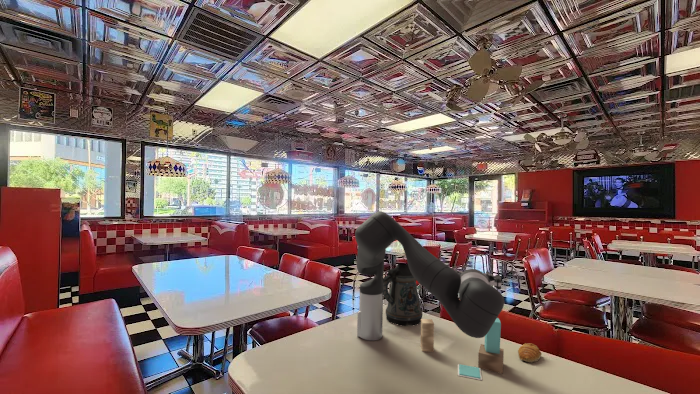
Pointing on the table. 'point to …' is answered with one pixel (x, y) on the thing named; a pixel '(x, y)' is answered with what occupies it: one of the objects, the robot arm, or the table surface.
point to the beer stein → (402, 297)
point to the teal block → (493, 338)
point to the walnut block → (490, 360)
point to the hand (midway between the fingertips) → (471, 273)
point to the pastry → (529, 352)
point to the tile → (469, 372)
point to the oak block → (427, 335)
